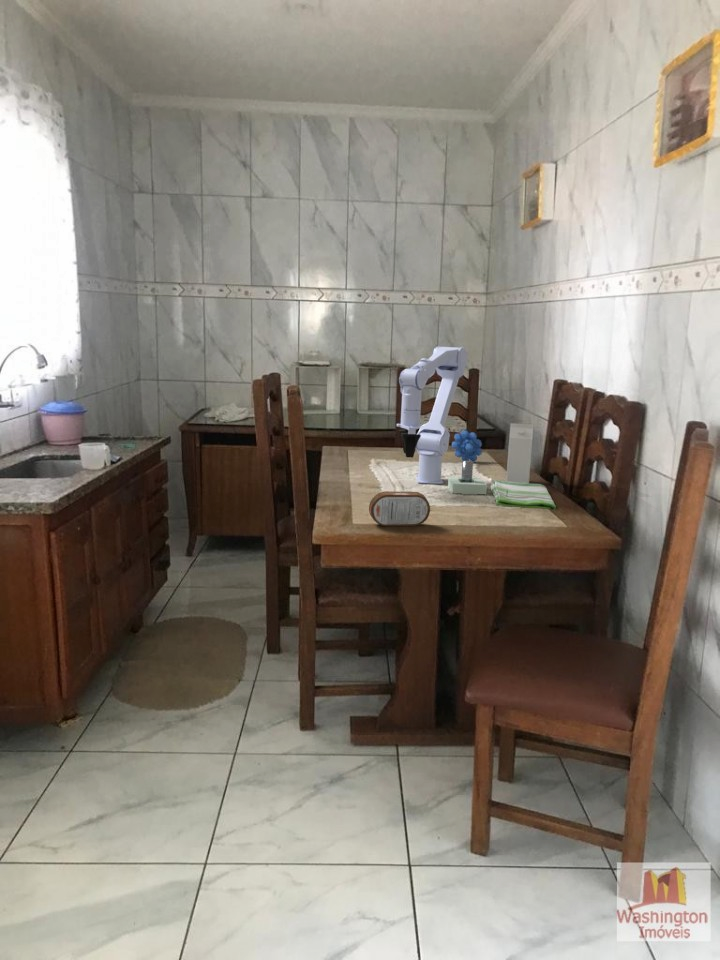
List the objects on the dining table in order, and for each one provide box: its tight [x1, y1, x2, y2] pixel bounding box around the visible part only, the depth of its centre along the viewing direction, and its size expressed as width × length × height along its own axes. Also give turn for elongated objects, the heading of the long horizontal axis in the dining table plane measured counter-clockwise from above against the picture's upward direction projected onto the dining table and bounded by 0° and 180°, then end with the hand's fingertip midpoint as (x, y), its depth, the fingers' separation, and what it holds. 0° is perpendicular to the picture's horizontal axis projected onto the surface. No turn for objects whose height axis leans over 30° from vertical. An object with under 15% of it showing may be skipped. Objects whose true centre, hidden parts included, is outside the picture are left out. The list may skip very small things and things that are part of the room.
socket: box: [447, 476, 488, 496], centre depth 220 cm, size 10×10×3 cm
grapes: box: [451, 429, 483, 463], centre depth 267 cm, size 12×7×12 cm, turn 99°
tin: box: [368, 490, 431, 527], centre depth 178 cm, size 15×3×8 cm, turn 99°
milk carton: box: [505, 422, 534, 484], centre depth 234 cm, size 7×7×19 cm
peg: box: [460, 460, 474, 483], centre depth 220 cm, size 3×3×9 cm
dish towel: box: [490, 479, 557, 510], centre depth 213 cm, size 17×23×4 cm
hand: (408, 455), depth 218 cm, fingers open, 7 cm apart
